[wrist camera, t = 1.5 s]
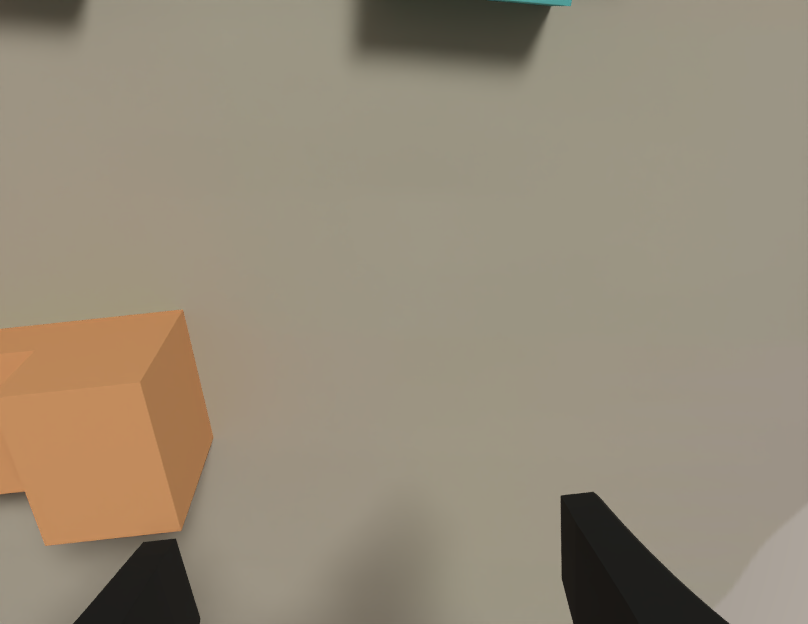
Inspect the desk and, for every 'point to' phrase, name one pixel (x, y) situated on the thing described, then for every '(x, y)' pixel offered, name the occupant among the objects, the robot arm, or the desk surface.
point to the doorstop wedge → (102, 425)
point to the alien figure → (540, 2)
